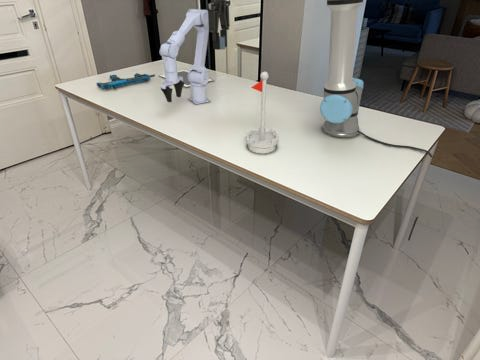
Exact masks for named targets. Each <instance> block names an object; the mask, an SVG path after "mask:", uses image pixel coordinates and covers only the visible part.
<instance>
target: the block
mask: <svg viewBox="0 0 480 360" xmlns="http://www.w3.org/2000/svg"><path fill="white" fill-rule="evenodd" d="M219 40H220V50H226V48H227V47H226V38H225V36H220V35H219Z"/></svg>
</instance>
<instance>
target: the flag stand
mask: <svg viewBox="0 0 480 360" xmlns="http://www.w3.org/2000/svg"><path fill="white" fill-rule="evenodd" d="M269 76H270V75H269V72H267V71H262V72H261V73H260V79H261V80H260V81H259V82H257V83H256V84H254V85H253V86H251V87H250V88H251V89H253V90H256V91H257V92H260V93H261V105H260V106H261V107H260V127H259V128H258V130H255V129H254V128H252V129H249V130H248V133H247V132H246V133H245V143H247V147H248V149H249V150H250V152H253V153H256V154H269V153H272V152H274V151H275V150H276V147H277V146H276V145H278V144H279V139H280V134H279V133H276V130H274V129H272V128H270V129H269V130H266V127H265V126H266V125H265V124H266V103H267V101H266V100H267V80H268V79H269Z"/></svg>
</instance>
